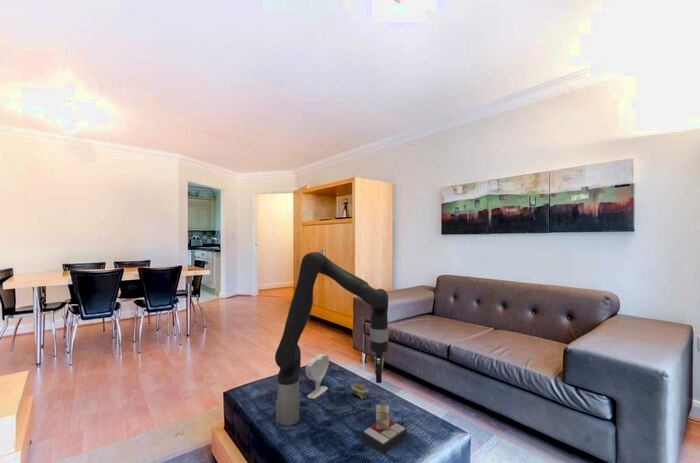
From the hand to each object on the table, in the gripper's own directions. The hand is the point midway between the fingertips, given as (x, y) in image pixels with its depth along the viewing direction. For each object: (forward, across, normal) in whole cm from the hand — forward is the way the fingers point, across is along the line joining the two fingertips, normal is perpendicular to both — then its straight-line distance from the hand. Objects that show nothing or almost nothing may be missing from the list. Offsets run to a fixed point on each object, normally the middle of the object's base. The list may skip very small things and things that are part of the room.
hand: (379, 377), depth 129 cm
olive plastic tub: (+23, -26, -11) cm, 36 cm away
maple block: (+18, +2, +2) cm, 19 cm away
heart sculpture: (+22, -28, -33) cm, 49 cm away
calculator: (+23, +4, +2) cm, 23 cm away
